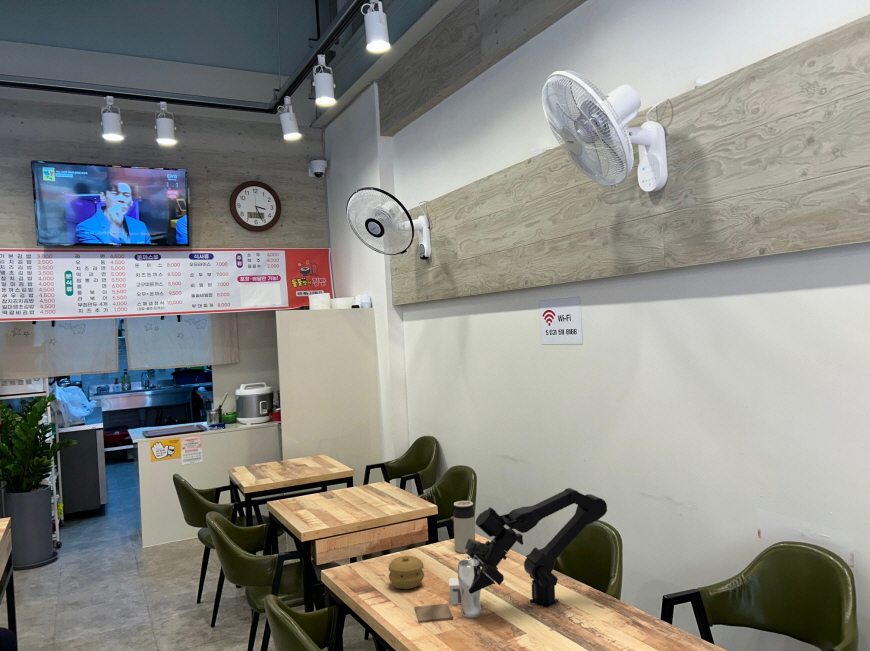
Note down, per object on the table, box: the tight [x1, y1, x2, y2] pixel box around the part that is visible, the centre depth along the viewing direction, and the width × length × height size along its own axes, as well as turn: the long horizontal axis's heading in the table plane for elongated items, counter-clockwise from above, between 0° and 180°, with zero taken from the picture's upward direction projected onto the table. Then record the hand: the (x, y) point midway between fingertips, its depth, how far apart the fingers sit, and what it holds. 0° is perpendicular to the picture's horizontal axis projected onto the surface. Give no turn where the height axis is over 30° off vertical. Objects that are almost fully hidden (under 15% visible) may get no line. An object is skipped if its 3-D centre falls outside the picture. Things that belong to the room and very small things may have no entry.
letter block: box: [448, 577, 462, 606], centre depth 201 cm, size 6×6×6 cm
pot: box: [388, 555, 425, 590], centre depth 215 cm, size 12×12×10 cm
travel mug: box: [452, 500, 476, 554], centre depth 249 cm, size 8×8×18 cm
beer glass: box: [457, 558, 483, 619], centre depth 191 cm, size 7×7×15 cm
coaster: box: [414, 603, 454, 624], centre depth 192 cm, size 10×10×1 cm
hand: (466, 588), depth 191 cm, fingers closed on beer glass, 7 cm apart
